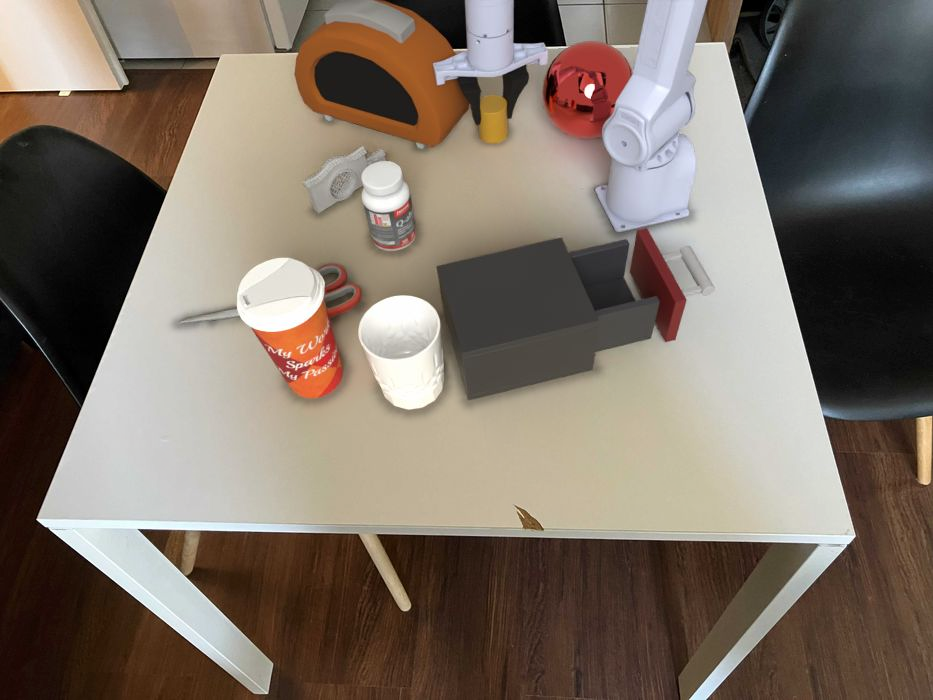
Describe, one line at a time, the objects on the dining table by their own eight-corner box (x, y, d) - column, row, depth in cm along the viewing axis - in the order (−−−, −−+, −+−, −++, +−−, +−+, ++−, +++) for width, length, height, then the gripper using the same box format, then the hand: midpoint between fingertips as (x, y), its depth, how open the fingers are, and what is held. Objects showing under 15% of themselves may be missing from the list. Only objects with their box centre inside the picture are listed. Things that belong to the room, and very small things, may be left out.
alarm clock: (304, 117, 105) (270, 6, 91) (338, 82, 109) (311, -28, 95) (443, 159, 97) (429, 46, 84) (474, 120, 102) (466, 6, 88)
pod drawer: (676, 260, 83) (686, 218, 77) (715, 330, 77) (730, 289, 71) (534, 294, 81) (534, 253, 76) (563, 367, 75) (565, 329, 70)
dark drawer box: (559, 289, 83) (561, 237, 76) (592, 370, 76) (599, 320, 69) (444, 316, 82) (436, 265, 75) (468, 400, 75) (462, 353, 68)
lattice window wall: (382, 164, 97) (374, 128, 93) (390, 170, 97) (383, 134, 92) (310, 210, 93) (298, 175, 88) (318, 217, 92) (307, 181, 88)
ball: (547, 99, 103) (549, 19, 93) (632, 104, 101) (643, 24, 91) (535, 154, 96) (535, 74, 87) (625, 161, 94) (636, 80, 85)
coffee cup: (292, 420, 75) (247, 335, 63) (268, 363, 80) (221, 274, 67) (366, 386, 77) (335, 297, 65) (338, 333, 81) (304, 240, 69)
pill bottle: (410, 255, 87) (398, 194, 79) (366, 250, 88) (350, 189, 80) (422, 221, 91) (411, 159, 83) (378, 217, 92) (364, 155, 84)
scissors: (178, 320, 84) (173, 312, 83) (349, 262, 87) (346, 254, 86) (188, 370, 80) (183, 362, 79) (367, 307, 83) (365, 299, 82)
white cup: (422, 427, 74) (409, 373, 65) (361, 394, 76) (341, 339, 68) (463, 371, 77) (455, 313, 69) (403, 342, 80) (389, 283, 72)
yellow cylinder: (503, 122, 101) (502, 91, 97) (511, 140, 99) (510, 109, 95) (475, 128, 101) (473, 98, 97) (483, 146, 98) (481, 115, 94)
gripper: (538, -4, 89) (534, 89, 101) (424, 16, 88) (433, 109, 99) (555, 27, 86) (549, 121, 97) (436, 49, 84) (444, 142, 95)
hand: (491, 117), depth 98 cm, fingers closed on yellow cylinder, 4 cm apart
